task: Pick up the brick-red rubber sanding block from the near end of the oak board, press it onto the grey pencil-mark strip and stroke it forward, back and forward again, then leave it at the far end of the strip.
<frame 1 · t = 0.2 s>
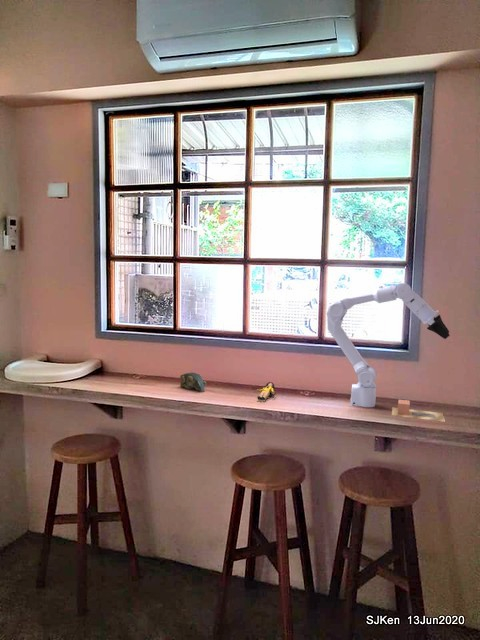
hand: (447, 335, 172), 31 cm above the table, tool tilted 45°, fingers open, 7 cm apart
sculpture: (193, 389, 205), on the table
board: (417, 417, 173), on the table
sanding block: (403, 412, 175), point 1 cm above the table, touching board
toy: (266, 397, 195), on the table
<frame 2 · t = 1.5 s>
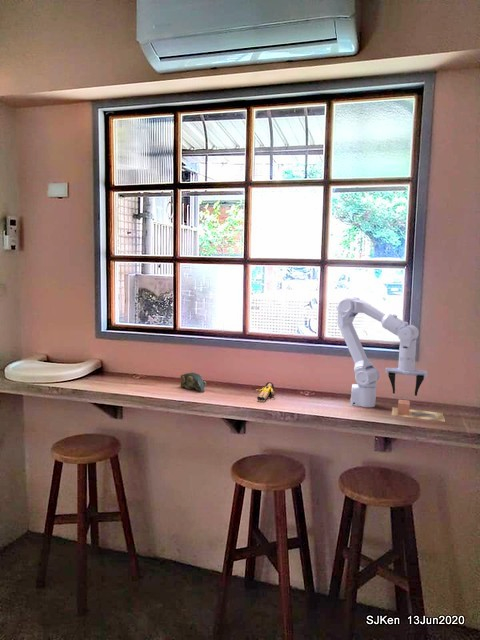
hand: (404, 394, 174), 8 cm above the table, tool pointing down, fingers open, 7 cm apart
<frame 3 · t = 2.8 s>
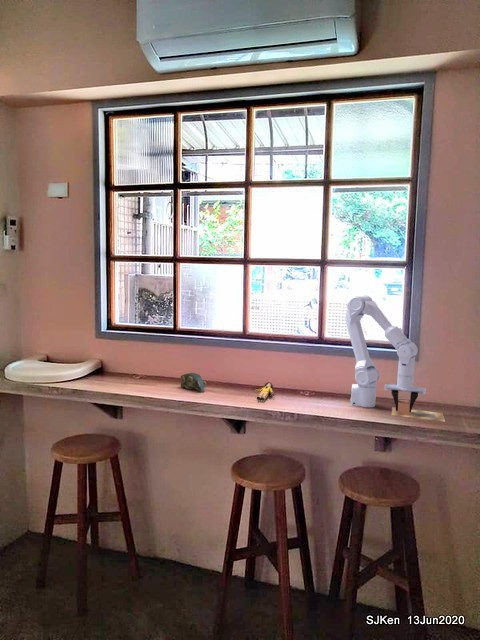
hand: (403, 410, 175), 2 cm above the table, tool pointing down, fingers closed on sanding block, 4 cm apart
sanding block: (403, 412, 175), point 1 cm above the table, touching board, gripper
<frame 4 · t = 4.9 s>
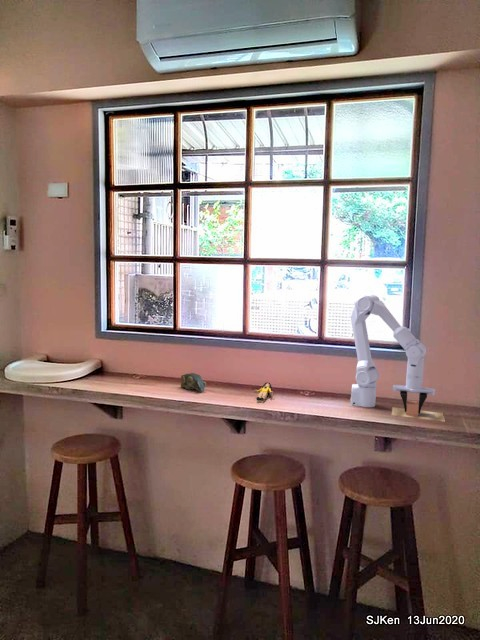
hand: (412, 411, 174), 2 cm above the table, tool pointing down, fingers closed on sanding block, 4 cm apart
sanding block: (412, 413, 174), point 1 cm above the table, touching board, gripper
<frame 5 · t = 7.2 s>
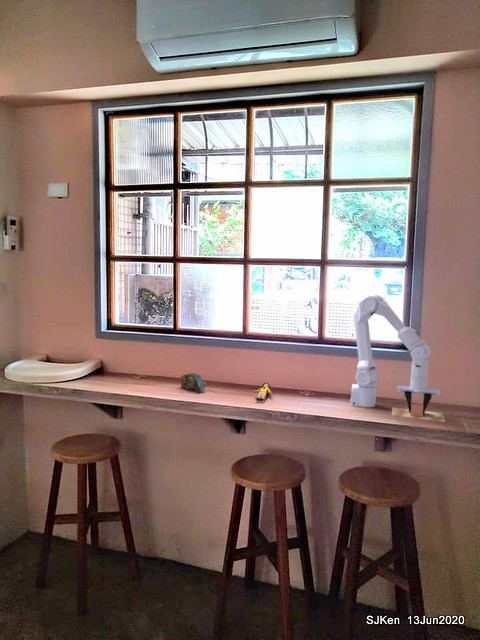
hand: (416, 412, 173), 2 cm above the table, tool pointing down, fingers closed on sanding block, 4 cm apart
sanding block: (416, 413, 173), point 1 cm above the table, touching gripper
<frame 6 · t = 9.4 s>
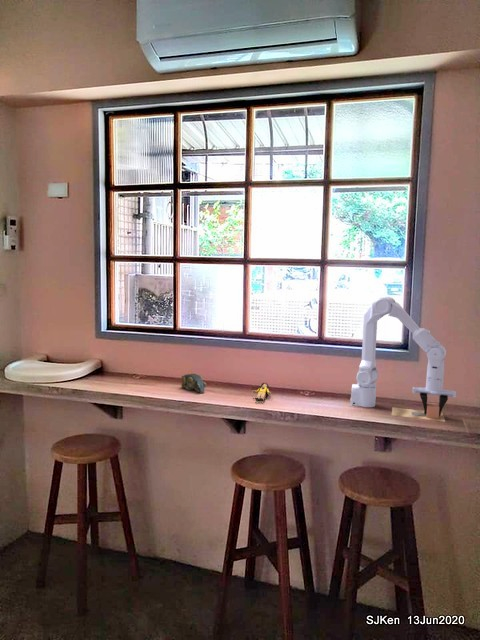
hand: (432, 414, 172), 2 cm above the table, tool pointing down, fingers closed on sanding block, 4 cm apart
sanding block: (432, 415, 172), point 1 cm above the table, touching board, gripper
when the fingers open (2 cm above the table, at t = 9.4 s): sanding block stays where it is, resting on board.
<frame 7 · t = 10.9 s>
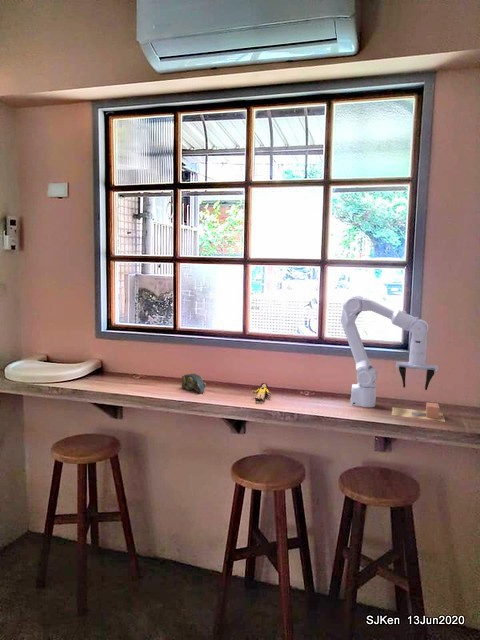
hand: (414, 388, 175), 10 cm above the table, tool pointing down, fingers open, 7 cm apart
sanding block: (432, 415, 172), point 1 cm above the table, touching board
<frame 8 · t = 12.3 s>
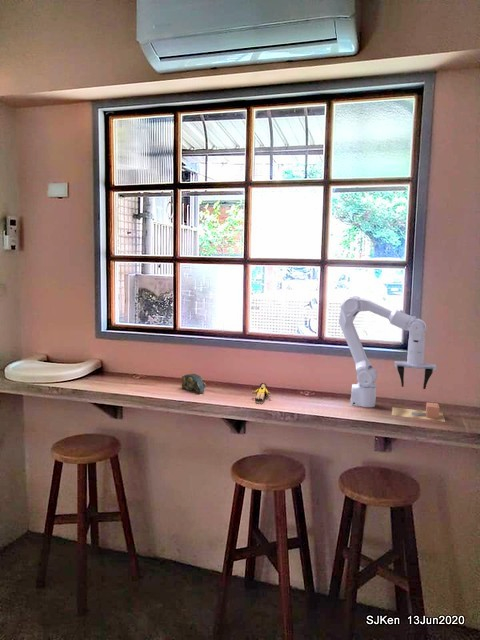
hand: (413, 387, 176), 10 cm above the table, tool pointing down, fingers open, 7 cm apart
at the end: sanding block 0.1 cm from the target spot, point 1.3 cm above the table; sanding block tilted 0°; the gripper is holding nothing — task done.
